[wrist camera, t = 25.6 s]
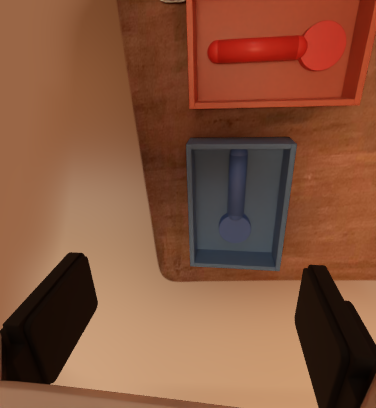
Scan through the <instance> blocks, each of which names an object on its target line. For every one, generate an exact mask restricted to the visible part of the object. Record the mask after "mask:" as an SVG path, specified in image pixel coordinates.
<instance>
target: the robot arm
mask: <svg viewBox="0 0 376 408" xmlns="http://www.w3.org/2000/svg"><path fill="white" fill-rule="evenodd" d="M97 305H98V301H97V297H96V292H95V288H94V283H93V280H92V275H91V270H90V266H89V262H88V258H87V257H85V256H84V254H83V253H72V252H71V253H68V254H67V255H66V256H65V257H64V258H63V260H62V261H61V262H60V263H59V264H58V265H57V266H56V267H55V268H54V269H53V270H52V271H51V273H50V274H49V275H48V276H47V277H46V278H45V279H44V280H43V281H42V282H41V283H40V284H39V286H38V287H37V288H36V289H35V290H34V291H33V292H32V293H31V294H30V295H29V297H27V299H26V300H25V301H24V302H23V303H22V304H21V305H20V306H19V307H18V309H17V310H15V312H14V313H13V314H12V315H11V316H10V317H9V318H8V319H7V320H6V321H5V322H4V324H3V328H2V329H1V330H0V408H237V407H230V406H222V405H214V404H206V403H199V402H190V401H183V400H174V399H166V398H158V397H150V396H142V395H134V394H125V393H117V392H109V391H101V390H92V389H83V388H74V387H66V386H58V385H50V384H51V383H53V382H55V380H56V379H57V377H58V376H59V374H60V372H61V370H62V368H63V367H64V365H65V363H66V362H67V360H68V358H69V356H70V354H71V353H72V351H73V349H74V347H75V346H76V344H77V342H78V340H79V339H80V337H81V335H82V333H83V332H84V330H85V328H86V326H87V325H88V323H89V321H90V319H91V318H92V316H93V314H94V312H95V311H96V308H97ZM295 325H296V329H297V333H298V336H299V340H300V343H301V347H302V350H303V354H304V357H305V361H306V365H307V368H308V372H309V375H310V378H311V382H312V386H313V389H314V392H315V396H316V400H317V403H318V407H319V408H376V344H375V343H374V341H373V339H372V337H371V336H370V334H369V332H368V330H367V329H366V327H365V325H364V323H363V322H362V320H361V318H360V316H359V315H358V313H357V311H356V309H355V308H354V306H353V304H352V303H351V302H350V301H344V299H343V297H342V296H341V294H340V292H339V290H338V288H337V286H336V284H335V283H334V281H333V279H332V277H331V275H330V273H329V271H328V270H327V268H326V266H324V265H309V266H308V268H304V270H303V274H302V280H301V285H300V291H299V297H298V302H297V307H296V313H295Z"/></svg>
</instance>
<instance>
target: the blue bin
mask: <svg viewBox="0 0 376 408" xmlns="http://www.w3.org/2000/svg"><path fill="white" fill-rule="evenodd" d="M296 147H297V144H296V143H295V142H294V141H293V140H292V139H291V138H290V137H230V138H190V139H189V141H188V142H187V144H186V160H187V188H188V215H189V243H190V266H198V267H216V268H234V269H252V270H270V271H280V264H281V257H282V250H283V242H284V235H285V228H286V220H287V213H288V206H289V198H290V191H291V184H292V176H293V169H294V162H295V155H296ZM231 149H247V151H248V160H247V175H246V190H245V204H244V214H245V215H246V216H247V217H248V218H249V220H250V225H251V233H250V235H249V237H248V238H247V239H246V240H244V241H242V242H240V243H230V242H228V241H226V240H224V239H223V238H222V237H221V235H220V233H219V221H220V219H221V217H222V216H223V215H224V214H226V213H227V208H228V183H229V157H230V150H231Z"/></svg>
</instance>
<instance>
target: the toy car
mask: <svg viewBox="0 0 376 408" xmlns="http://www.w3.org/2000/svg"><path fill="white" fill-rule="evenodd" d="M161 1H165V3H167V2H169V3H173V2H178V3H179V2H184V1H185V0H161Z"/></svg>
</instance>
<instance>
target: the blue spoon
mask: <svg viewBox="0 0 376 408" xmlns="http://www.w3.org/2000/svg"><path fill="white" fill-rule="evenodd" d="M247 160H248V151H247V149H231V150H230V157H229V183H228V208H227V213H226V214H224V215H223V216H222V217H221V219H220V221H219V233H220V235H221V237H222V238H223V239H224V240H226V241H228V242H230V243H240V242H242V241H244V240H246V239H247V238H248V237H249V235H250V233H251V225H250V220H249V218H248V217H247V216H246V215H245V214H244V204H245V190H246V175H247Z"/></svg>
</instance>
